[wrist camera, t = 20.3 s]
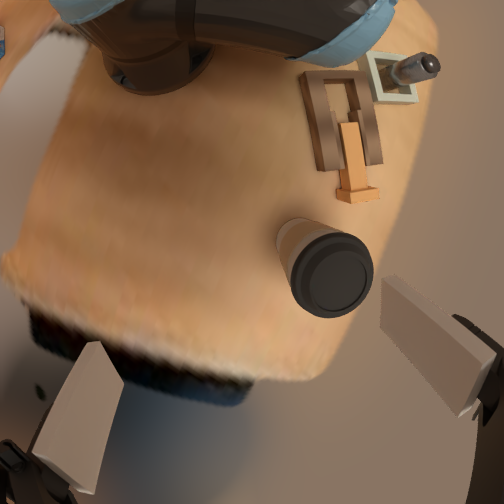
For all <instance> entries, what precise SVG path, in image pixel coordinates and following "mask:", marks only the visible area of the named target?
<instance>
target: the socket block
mask: <svg viewBox="0 0 504 504" xmlns="http://www.w3.org/2000/svg"><path fill="white" fill-rule="evenodd" d="M299 81H300V86H301V90H302V94H303V99H304V103H305V108H306V112H307V117H308V122H309V127H310V132H311V137H312V143H313V148H314V154H315V159H316V165H317V171H325V172H326V171H332V170H339V169H345V166H344V159H343V153H342V147H341V141H340V136H339V130H338V125H337V120H336V115H335V111H330V107H329V102H328V98H327V93H326V89H325V85H324V84H339V83H345V87H346V92H347V96H348V100H349V105H350V110H351V112H349V113H348V118H349V123H351V122H358V126H359V131H360V137H361V143H362V149H363V155H364V162H365V166H369V165H377V164H383V157H382V150H381V144H380V137H379V132H378V126H377V120H376V115H375V110H374V105H373V101H372V96H371V92H370V88H369V84H368V80H367V76H366V72H365V71H347V70H324V71H305V72H304V73H303V74H302V75H301V76H300V77H299Z"/></svg>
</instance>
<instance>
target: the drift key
mask: <svg viewBox="0 0 504 504" xmlns="http://www.w3.org/2000/svg"><path fill="white" fill-rule="evenodd" d="M337 125H338V130H339V136H340V141H341V147H342V153H343V159H344V166H345V169H339V172H340V179H341V186H342V189H336V192H337V199H338V200H341V201H344V202H347V203H350V204H354V203H359V202H364V201H370V200H375V199H380V198H379V188H375V187H370V186H367V177H366V169H365V162H364V155H363V149H362V143H361V137H360V131H359V126H358V122H351V123H339V124H337Z"/></svg>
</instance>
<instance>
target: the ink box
mask: <svg viewBox="0 0 504 504" xmlns="http://www.w3.org/2000/svg"><path fill="white" fill-rule="evenodd" d="M4 54H5V46H4V28H3V27H1V26H0V58H1V57H2V56H3V55H4Z"/></svg>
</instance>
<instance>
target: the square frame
mask: <svg viewBox="0 0 504 504" xmlns="http://www.w3.org/2000/svg"><path fill="white" fill-rule="evenodd" d="M406 58H408V57H407V55H401V54H395V53H387V52H379V51H370V50H368V51H367V52H366V53H365V54H364V55H363V56H361V57H360V58H358V59H357V62H358V66H359V69H360V71H365V72H366V76H367V80H368V84H369V88H370V92H371V96H372V101H373V104H401V105H409V104H414V103H419V100H418V96H417V91H416V87H415V83H414V84H410V85H407V86H403V87H400V88H399V92H400V94H395V93H383V90H382V85H381V81H380V78H379V74H378V70H377V66H376V64H380V65H392V64H394V63H396V62H399V61H401V60H403V59H406Z"/></svg>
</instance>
